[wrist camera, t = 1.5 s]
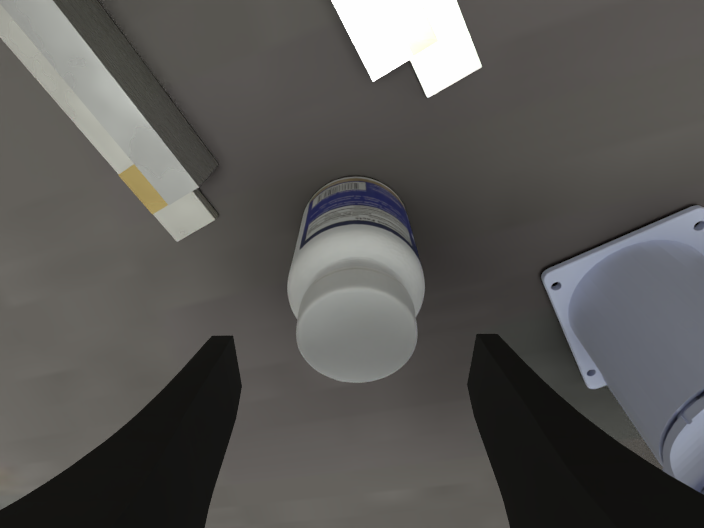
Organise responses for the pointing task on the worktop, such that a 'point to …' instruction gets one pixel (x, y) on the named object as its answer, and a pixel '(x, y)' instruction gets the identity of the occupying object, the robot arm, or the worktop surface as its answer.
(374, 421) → the worktop surface
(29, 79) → the worktop surface
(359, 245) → the pill bottle
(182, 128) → the socket
